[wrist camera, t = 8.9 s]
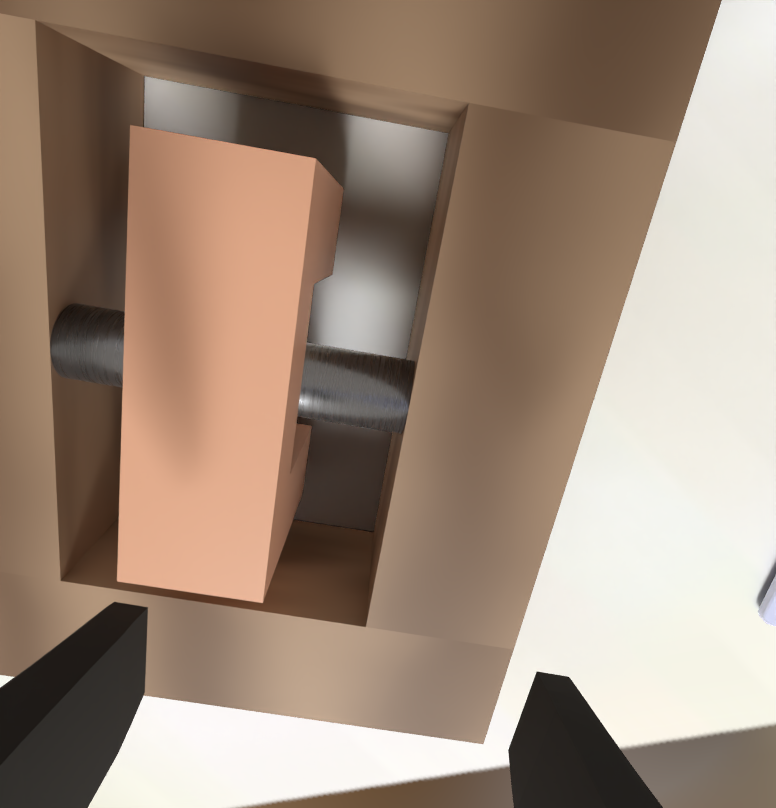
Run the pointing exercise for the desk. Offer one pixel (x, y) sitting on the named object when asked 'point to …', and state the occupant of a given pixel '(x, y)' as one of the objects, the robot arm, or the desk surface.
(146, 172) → the pink notched block
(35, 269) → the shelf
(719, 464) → the desk surface
